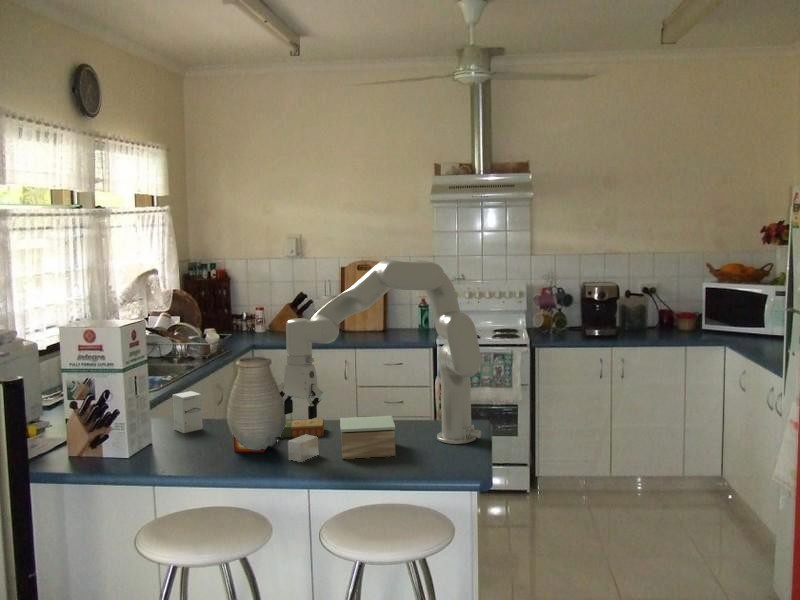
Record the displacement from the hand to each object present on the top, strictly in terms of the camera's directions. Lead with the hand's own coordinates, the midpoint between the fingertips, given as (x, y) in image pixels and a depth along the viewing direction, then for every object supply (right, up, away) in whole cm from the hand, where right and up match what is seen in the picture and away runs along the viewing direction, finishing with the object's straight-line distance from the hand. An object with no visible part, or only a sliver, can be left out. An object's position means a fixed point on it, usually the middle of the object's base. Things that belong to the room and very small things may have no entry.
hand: (300, 415), depth 236 cm
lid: (+20, -4, +6) cm, 21 cm away
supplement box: (-43, -10, +35) cm, 56 cm away
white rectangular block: (+1, -13, +2) cm, 13 cm away
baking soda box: (-17, -12, +12) cm, 24 cm away
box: (+20, -12, +7) cm, 24 cm away
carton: (-4, -11, +27) cm, 29 cm away
